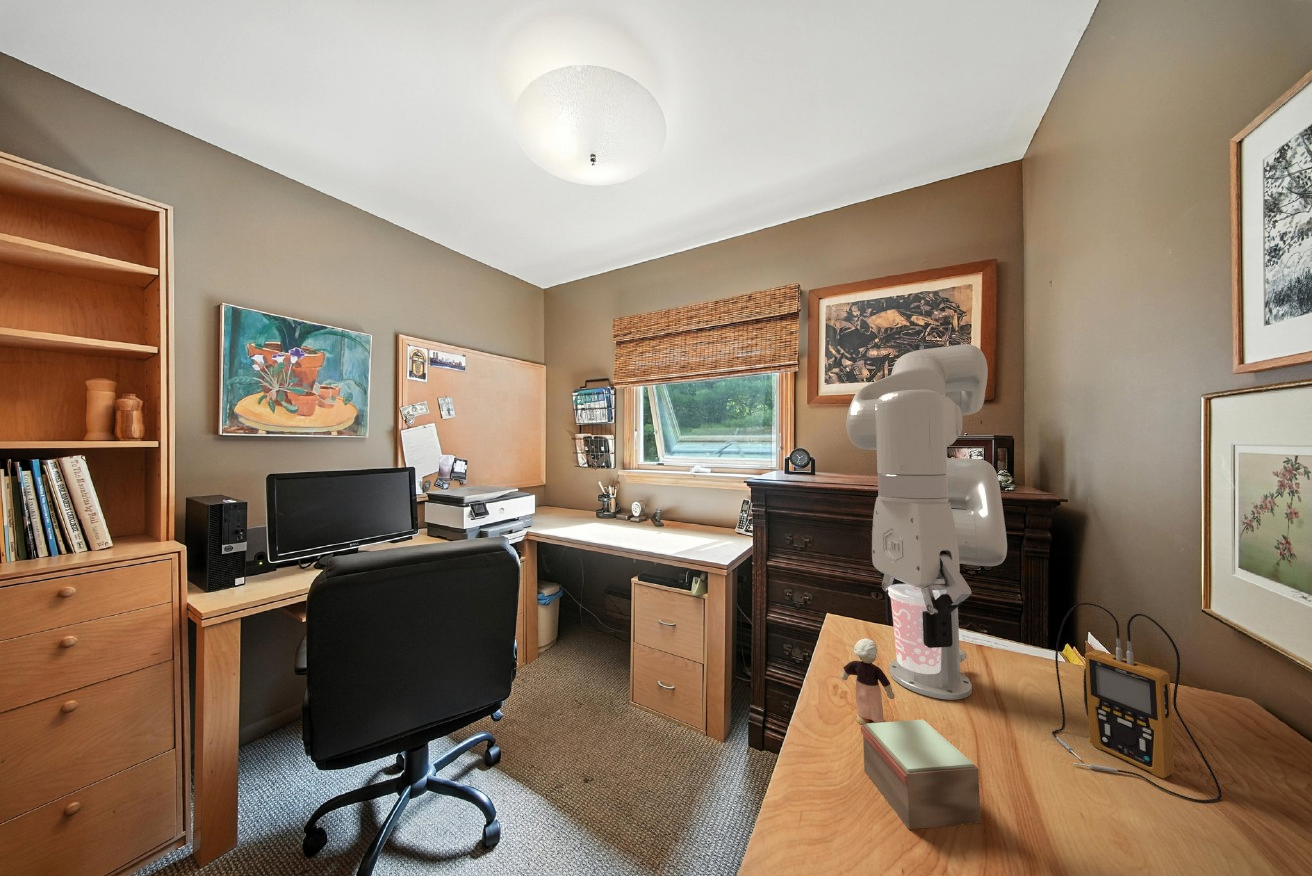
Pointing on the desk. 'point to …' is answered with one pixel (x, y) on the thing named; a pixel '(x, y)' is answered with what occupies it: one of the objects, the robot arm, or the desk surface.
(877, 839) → the desk surface
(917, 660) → the beverage cup
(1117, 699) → the multimeter
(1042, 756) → the desk surface
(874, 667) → the grandmother figurine
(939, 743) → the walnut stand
